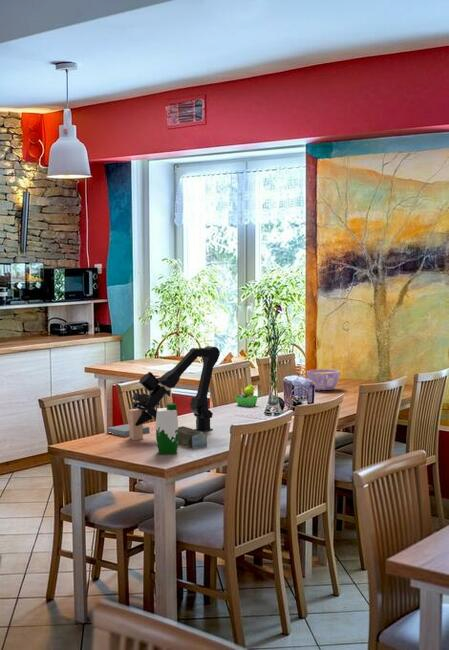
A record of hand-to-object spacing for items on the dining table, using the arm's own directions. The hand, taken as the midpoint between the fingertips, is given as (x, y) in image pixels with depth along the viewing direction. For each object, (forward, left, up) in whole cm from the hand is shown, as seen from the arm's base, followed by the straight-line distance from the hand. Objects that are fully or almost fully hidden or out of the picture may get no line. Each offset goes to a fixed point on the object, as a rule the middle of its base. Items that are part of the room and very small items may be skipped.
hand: (133, 424), depth 393 cm
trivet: (+14, -7, -7) cm, 17 cm away
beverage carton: (-26, -9, -7) cm, 29 cm away
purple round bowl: (+33, -167, -7) cm, 171 cm away
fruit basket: (+28, -98, -7) cm, 102 cm away
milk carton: (-33, +8, -7) cm, 35 cm away
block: (0, -1, -7) cm, 7 cm away
